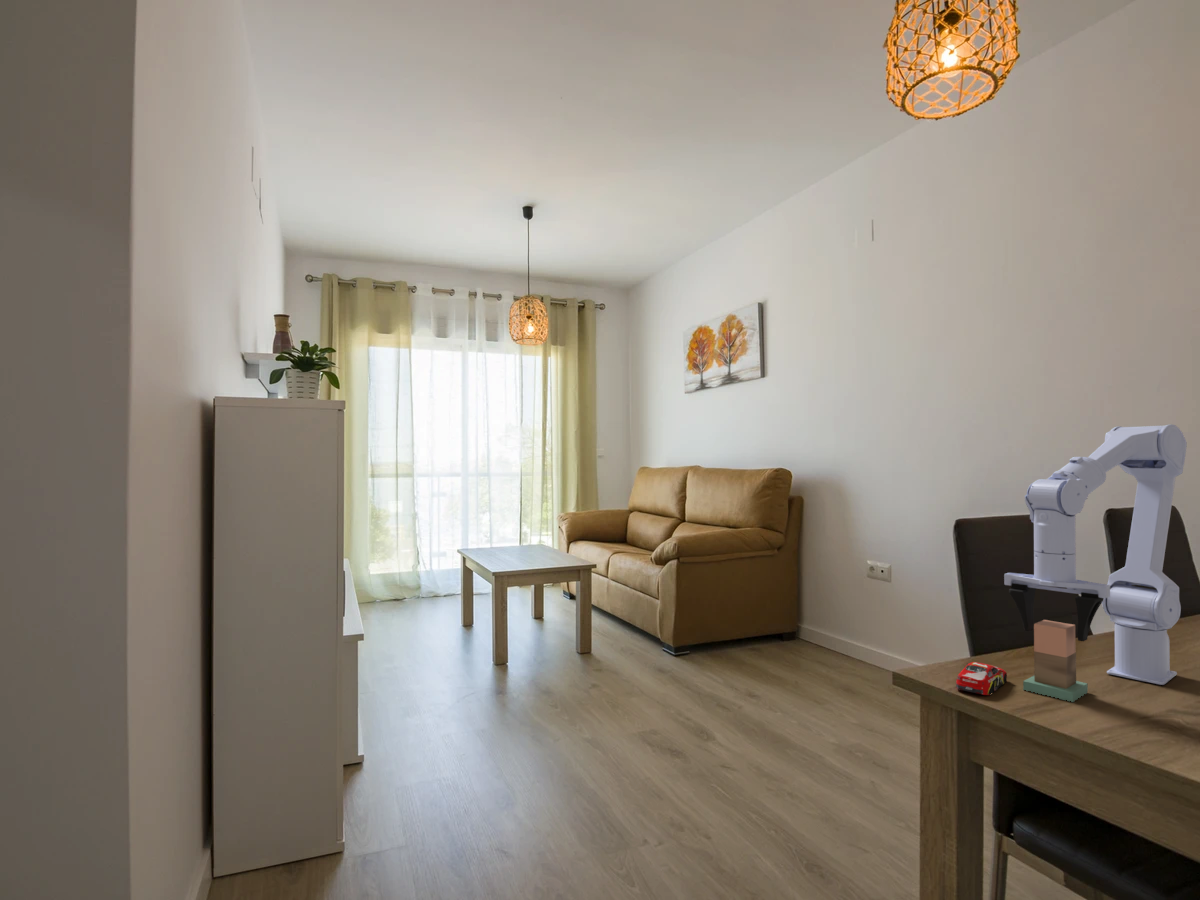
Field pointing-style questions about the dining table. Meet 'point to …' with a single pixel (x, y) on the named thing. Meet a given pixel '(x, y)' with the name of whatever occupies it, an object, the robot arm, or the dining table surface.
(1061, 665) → the walnut brick
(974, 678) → the race car
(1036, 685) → the base plate
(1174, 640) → the dining table surface
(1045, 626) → the terracotta brick
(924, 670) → the dining table surface
